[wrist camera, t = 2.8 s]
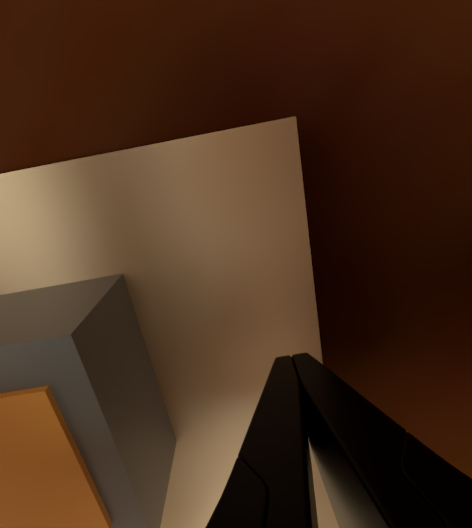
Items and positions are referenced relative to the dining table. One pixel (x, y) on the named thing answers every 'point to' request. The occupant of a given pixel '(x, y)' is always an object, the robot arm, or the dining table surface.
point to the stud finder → (80, 411)
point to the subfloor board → (185, 277)
